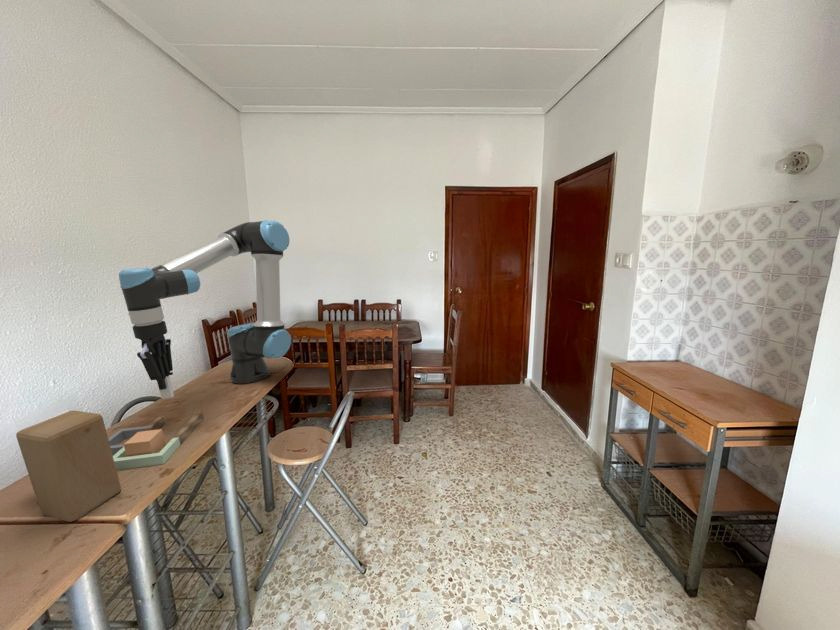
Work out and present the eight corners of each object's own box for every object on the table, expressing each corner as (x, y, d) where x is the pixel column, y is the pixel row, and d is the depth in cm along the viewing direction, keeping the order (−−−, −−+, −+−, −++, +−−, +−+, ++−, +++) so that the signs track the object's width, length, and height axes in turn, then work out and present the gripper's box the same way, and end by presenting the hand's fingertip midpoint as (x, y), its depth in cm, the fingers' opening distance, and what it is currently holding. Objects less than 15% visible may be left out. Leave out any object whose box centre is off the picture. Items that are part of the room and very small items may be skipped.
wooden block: (124, 490, 79) (103, 412, 75) (71, 525, 70) (44, 437, 65) (94, 484, 82) (72, 408, 78) (39, 516, 72) (11, 431, 68)
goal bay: (129, 451, 95) (127, 443, 94) (180, 445, 97) (178, 437, 96) (107, 471, 86) (105, 462, 86) (164, 463, 89) (162, 455, 88)
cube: (142, 451, 95) (138, 431, 93) (166, 448, 96) (162, 429, 94) (128, 464, 89) (123, 444, 88) (154, 461, 90) (149, 441, 89)
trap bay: (121, 436, 102) (120, 429, 102) (149, 433, 104) (147, 425, 103) (94, 458, 92) (92, 450, 91) (125, 454, 93) (123, 446, 93)
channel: (159, 424, 109) (158, 417, 108) (203, 418, 111) (202, 412, 111) (129, 451, 95) (127, 443, 94) (180, 445, 97) (178, 437, 96)
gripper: (147, 318, 103) (165, 389, 108) (118, 330, 90) (141, 409, 96) (174, 316, 104) (191, 386, 110) (149, 327, 91) (170, 406, 97)
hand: (168, 397), depth 103 cm, fingers closed
